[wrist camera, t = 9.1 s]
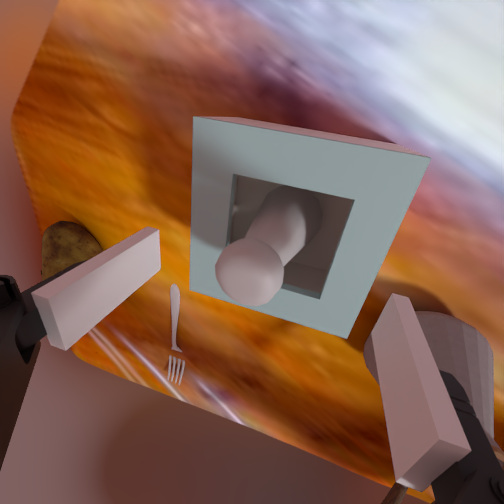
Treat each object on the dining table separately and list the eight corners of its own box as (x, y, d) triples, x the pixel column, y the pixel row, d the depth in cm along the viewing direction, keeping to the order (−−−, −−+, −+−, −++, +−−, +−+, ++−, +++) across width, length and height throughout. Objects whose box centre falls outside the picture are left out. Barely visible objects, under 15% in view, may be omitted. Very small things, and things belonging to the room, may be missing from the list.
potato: (114, 225, 34) (59, 252, 27) (125, 299, 41) (83, 335, 34) (64, 212, 36) (0, 234, 29) (82, 285, 42) (34, 317, 35)
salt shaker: (261, 187, 26) (182, 249, 15) (316, 169, 23) (263, 230, 12) (281, 238, 28) (223, 323, 17) (334, 227, 25) (301, 321, 14)
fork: (186, 267, 34) (179, 274, 33) (186, 377, 46) (181, 386, 45) (165, 261, 35) (157, 267, 34) (170, 371, 47) (165, 380, 45)
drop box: (343, 279, 28) (346, 338, 20) (226, 247, 31) (189, 289, 23) (396, 144, 21) (431, 158, 14) (239, 117, 24) (193, 116, 16)
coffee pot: (394, 280, 27) (448, 429, 14) (507, 325, 25) (680, 533, 13) (314, 389, 38) (302, 528, 25) (390, 424, 36) (419, 588, 24)
